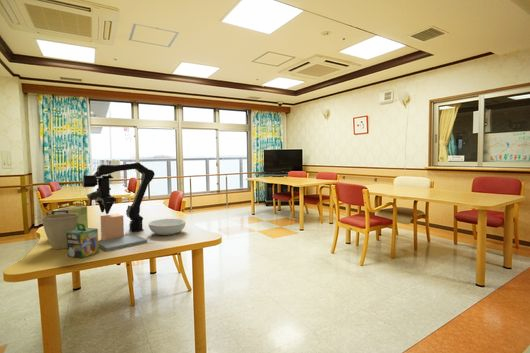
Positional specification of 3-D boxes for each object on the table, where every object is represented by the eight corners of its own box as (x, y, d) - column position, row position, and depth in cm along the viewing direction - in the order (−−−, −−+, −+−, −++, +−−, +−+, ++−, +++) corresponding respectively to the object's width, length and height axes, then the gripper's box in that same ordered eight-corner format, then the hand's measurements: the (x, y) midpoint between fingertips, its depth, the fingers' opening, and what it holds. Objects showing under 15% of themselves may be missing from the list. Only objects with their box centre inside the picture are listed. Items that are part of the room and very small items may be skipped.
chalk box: (99, 252, 135) (98, 221, 134) (81, 258, 127) (80, 226, 126) (85, 250, 138) (84, 220, 137) (66, 256, 130) (65, 224, 129)
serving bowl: (171, 239, 158) (171, 227, 157) (140, 236, 164) (140, 224, 164) (192, 230, 177) (192, 219, 177) (164, 228, 184) (164, 217, 184)
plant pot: (86, 243, 149) (85, 213, 148) (60, 252, 135) (59, 219, 134) (62, 241, 152) (61, 212, 151) (35, 250, 138) (33, 218, 137)
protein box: (88, 231, 176) (87, 206, 175) (69, 237, 160) (68, 210, 160) (72, 230, 177) (71, 205, 176) (52, 237, 161) (50, 210, 160)
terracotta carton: (118, 236, 164) (117, 213, 164) (123, 238, 159) (123, 215, 158) (101, 239, 158) (100, 216, 157) (106, 242, 152) (105, 218, 152)
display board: (134, 236, 162) (134, 234, 162) (147, 242, 152) (147, 239, 152) (95, 244, 148) (95, 241, 148) (106, 251, 137) (106, 248, 137)
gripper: (83, 186, 165) (84, 212, 166) (93, 188, 152) (94, 217, 153) (104, 185, 173) (105, 210, 174) (115, 187, 160) (116, 214, 161)
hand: (104, 213), depth 165 cm, fingers open, 7 cm apart
